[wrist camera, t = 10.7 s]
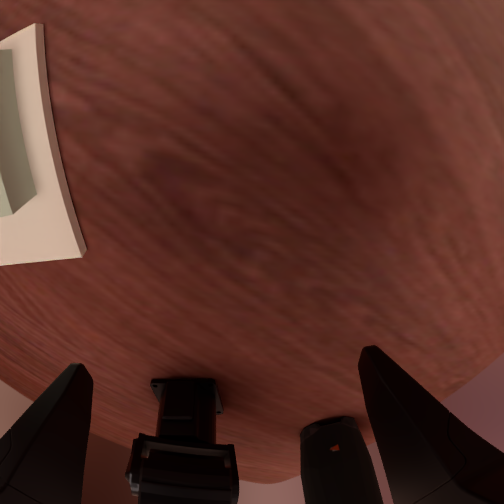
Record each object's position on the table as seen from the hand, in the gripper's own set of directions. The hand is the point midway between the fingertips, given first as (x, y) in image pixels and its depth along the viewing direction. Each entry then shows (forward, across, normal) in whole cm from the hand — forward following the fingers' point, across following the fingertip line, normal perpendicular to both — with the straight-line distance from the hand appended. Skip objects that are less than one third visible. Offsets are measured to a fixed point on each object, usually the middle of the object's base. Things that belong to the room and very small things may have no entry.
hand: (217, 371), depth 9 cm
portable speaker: (+12, -10, +32) cm, 36 cm away
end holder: (+12, +17, -6) cm, 22 cm away
